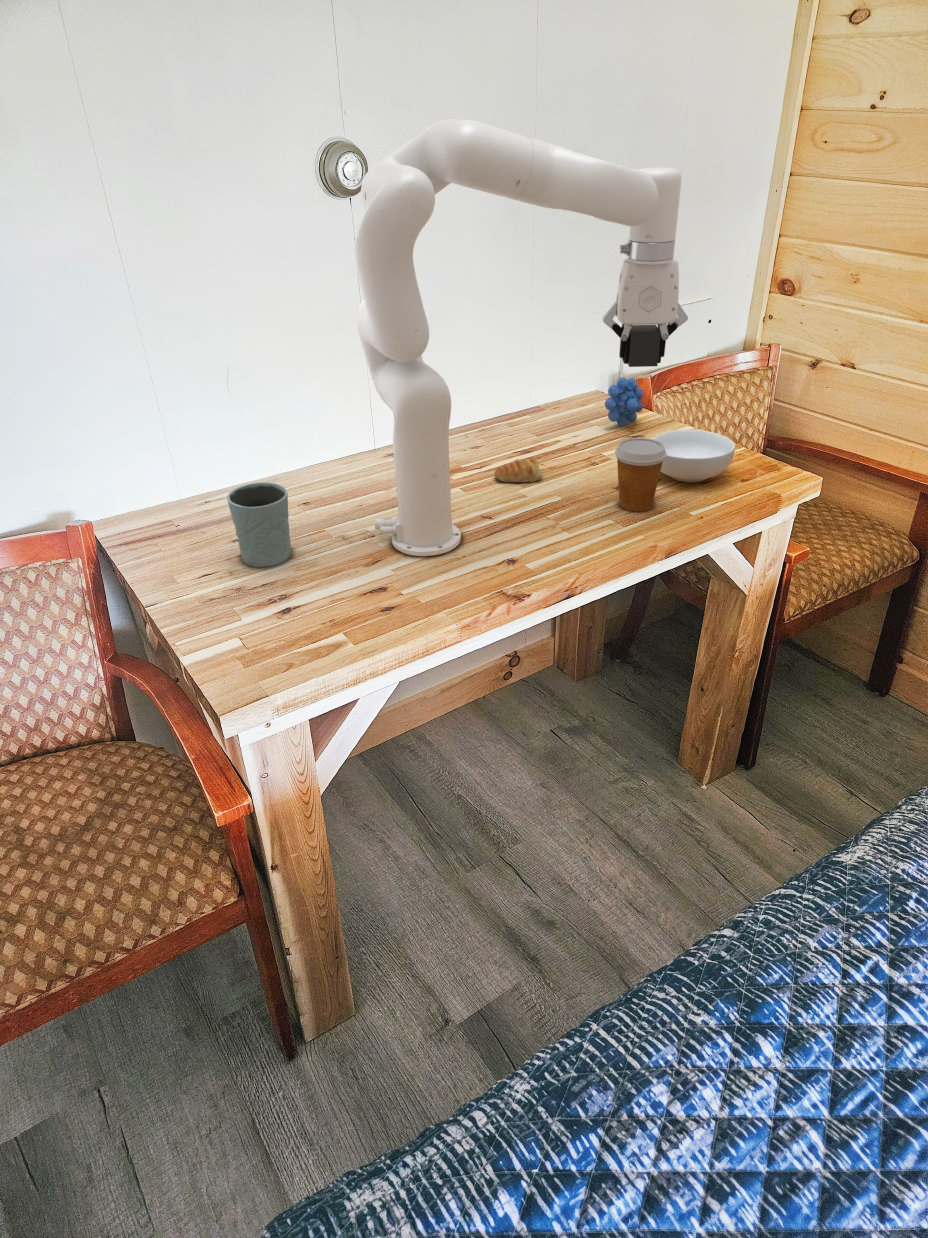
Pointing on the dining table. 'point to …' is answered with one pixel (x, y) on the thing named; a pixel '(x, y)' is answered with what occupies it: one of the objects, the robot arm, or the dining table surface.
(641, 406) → the grapes
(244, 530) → the grey embossed cup
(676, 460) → the cereal bowl
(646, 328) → the black block
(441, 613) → the dining table surface
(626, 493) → the disposable coffee cup
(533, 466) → the pastry
